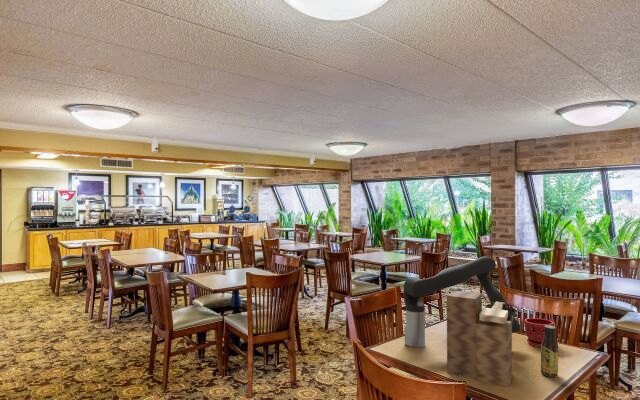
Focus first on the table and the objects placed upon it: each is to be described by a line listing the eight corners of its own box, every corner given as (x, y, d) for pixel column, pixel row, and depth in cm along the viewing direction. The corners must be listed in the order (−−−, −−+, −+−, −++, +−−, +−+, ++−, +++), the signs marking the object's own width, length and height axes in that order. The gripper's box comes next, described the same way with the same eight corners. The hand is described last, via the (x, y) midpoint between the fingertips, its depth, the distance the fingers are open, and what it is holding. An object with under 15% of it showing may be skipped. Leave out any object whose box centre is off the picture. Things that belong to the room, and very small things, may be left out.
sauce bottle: (537, 371, 162) (536, 324, 162) (551, 371, 162) (550, 323, 163) (547, 378, 155) (547, 328, 155) (562, 378, 156) (561, 328, 156)
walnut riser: (447, 372, 161) (446, 295, 161) (454, 363, 171) (454, 290, 171) (508, 386, 148) (507, 302, 149) (512, 375, 158) (511, 296, 159)
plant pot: (554, 343, 196) (554, 319, 196) (554, 351, 185) (553, 326, 185) (525, 338, 203) (525, 315, 203) (523, 346, 192) (523, 321, 192)
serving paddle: (479, 320, 155) (479, 313, 155) (489, 306, 173) (489, 300, 173) (504, 323, 150) (504, 317, 150) (511, 309, 168) (511, 303, 168)
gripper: (487, 306, 183) (481, 294, 170) (521, 310, 175) (516, 298, 163) (486, 322, 180) (479, 311, 167) (520, 327, 172) (516, 316, 160)
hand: (498, 305), depth 165 cm, fingers closed on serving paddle, 3 cm apart
